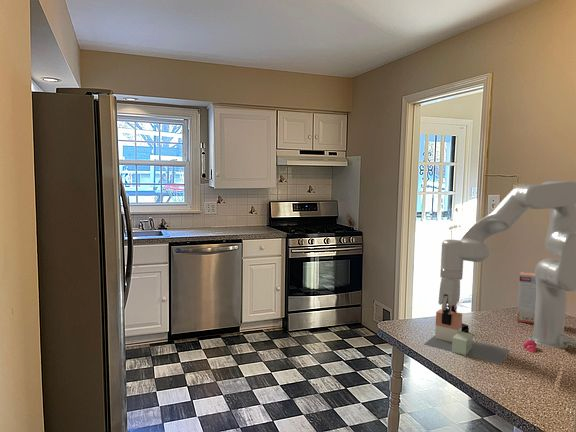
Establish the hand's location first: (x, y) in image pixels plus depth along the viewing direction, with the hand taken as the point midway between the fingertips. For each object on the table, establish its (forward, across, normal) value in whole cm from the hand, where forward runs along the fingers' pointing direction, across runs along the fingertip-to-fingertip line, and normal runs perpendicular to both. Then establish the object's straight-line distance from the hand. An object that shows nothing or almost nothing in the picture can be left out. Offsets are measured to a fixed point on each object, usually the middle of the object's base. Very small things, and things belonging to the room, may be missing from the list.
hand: (448, 321), depth 155 cm
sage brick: (+7, +7, +7) cm, 12 cm away
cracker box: (+8, -46, +22) cm, 52 cm away
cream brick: (+7, 0, 0) cm, 7 cm away
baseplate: (+8, +4, +8) cm, 11 cm away
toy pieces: (+8, -6, +27) cm, 29 cm away
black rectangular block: (+8, -10, +2) cm, 14 cm away
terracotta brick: (+2, 0, 0) cm, 2 cm away
